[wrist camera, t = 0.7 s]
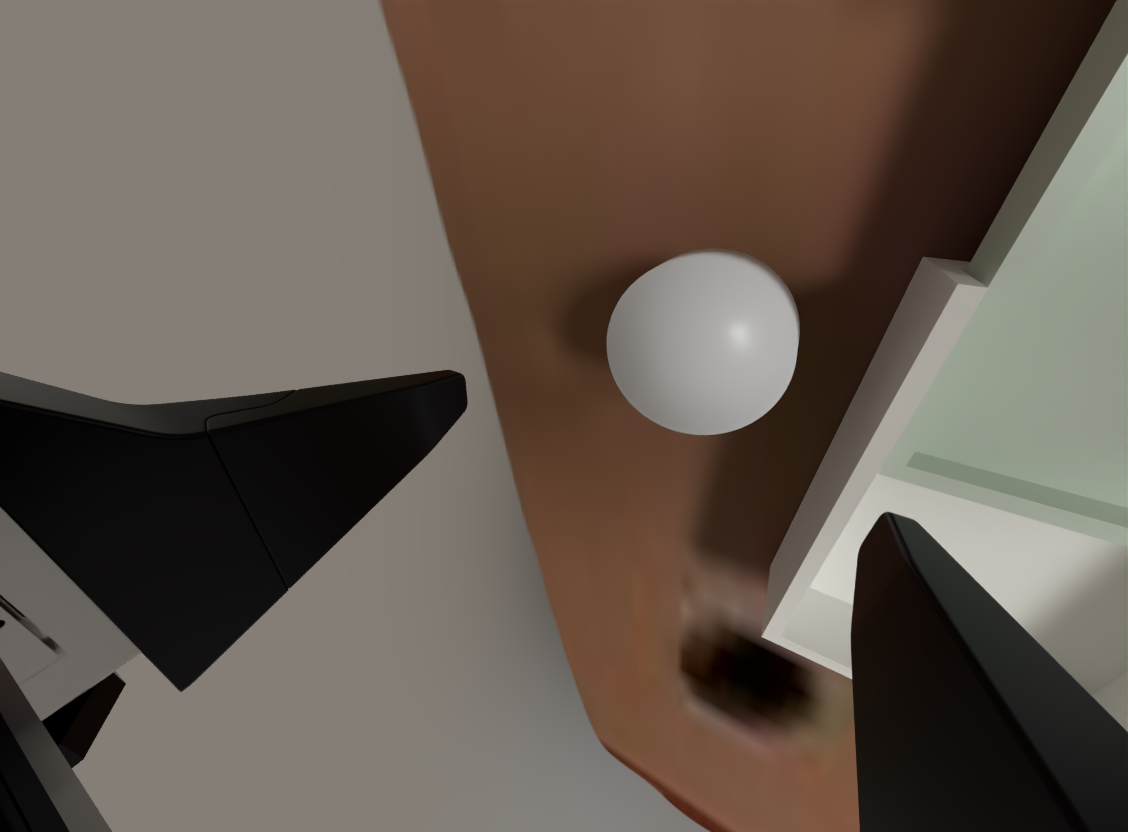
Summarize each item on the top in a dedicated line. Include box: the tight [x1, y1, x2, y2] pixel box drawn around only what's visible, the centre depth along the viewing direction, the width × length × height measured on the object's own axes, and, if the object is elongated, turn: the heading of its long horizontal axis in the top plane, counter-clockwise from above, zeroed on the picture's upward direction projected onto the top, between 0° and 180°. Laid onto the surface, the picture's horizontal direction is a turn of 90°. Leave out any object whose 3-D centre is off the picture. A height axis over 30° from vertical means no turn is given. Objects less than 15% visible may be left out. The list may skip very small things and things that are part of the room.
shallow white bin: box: [762, 257, 1128, 732], centre depth 14 cm, size 12×16×4 cm
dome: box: [607, 248, 800, 435], centre depth 14 cm, size 6×6×2 cm
